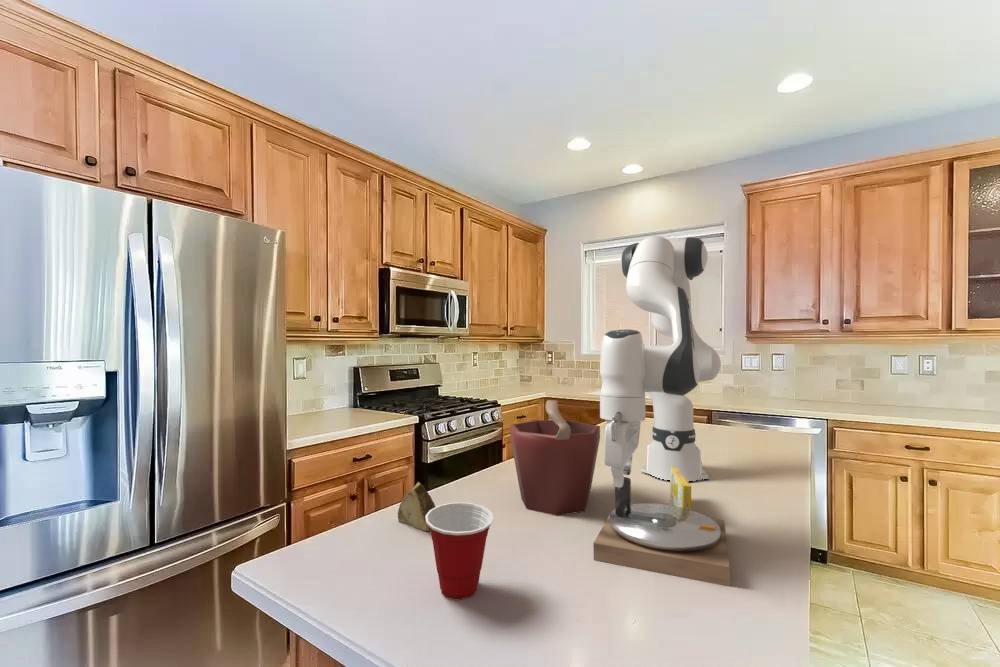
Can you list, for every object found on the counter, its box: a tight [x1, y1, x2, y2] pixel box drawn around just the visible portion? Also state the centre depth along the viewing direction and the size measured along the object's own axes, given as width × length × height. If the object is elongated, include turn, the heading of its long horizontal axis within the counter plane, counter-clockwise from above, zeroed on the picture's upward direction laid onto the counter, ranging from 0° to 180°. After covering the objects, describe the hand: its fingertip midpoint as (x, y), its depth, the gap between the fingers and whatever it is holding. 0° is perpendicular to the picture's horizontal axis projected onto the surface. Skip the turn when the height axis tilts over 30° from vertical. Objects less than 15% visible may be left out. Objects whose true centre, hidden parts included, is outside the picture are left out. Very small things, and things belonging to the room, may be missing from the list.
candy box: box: [669, 467, 692, 510], centre depth 107 cm, size 16×2×8 cm, turn 168°
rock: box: [397, 481, 436, 532], centre depth 99 cm, size 11×9×10 cm
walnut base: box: [593, 505, 731, 587], centre depth 88 cm, size 22×22×3 cm
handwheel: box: [609, 476, 721, 551], centre depth 88 cm, size 20×20×8 cm
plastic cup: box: [425, 502, 494, 600], centre depth 72 cm, size 11×11×12 cm
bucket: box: [509, 399, 601, 516], centre depth 113 cm, size 24×22×25 cm
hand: (622, 479), depth 91 cm, fingers open, 8 cm apart
